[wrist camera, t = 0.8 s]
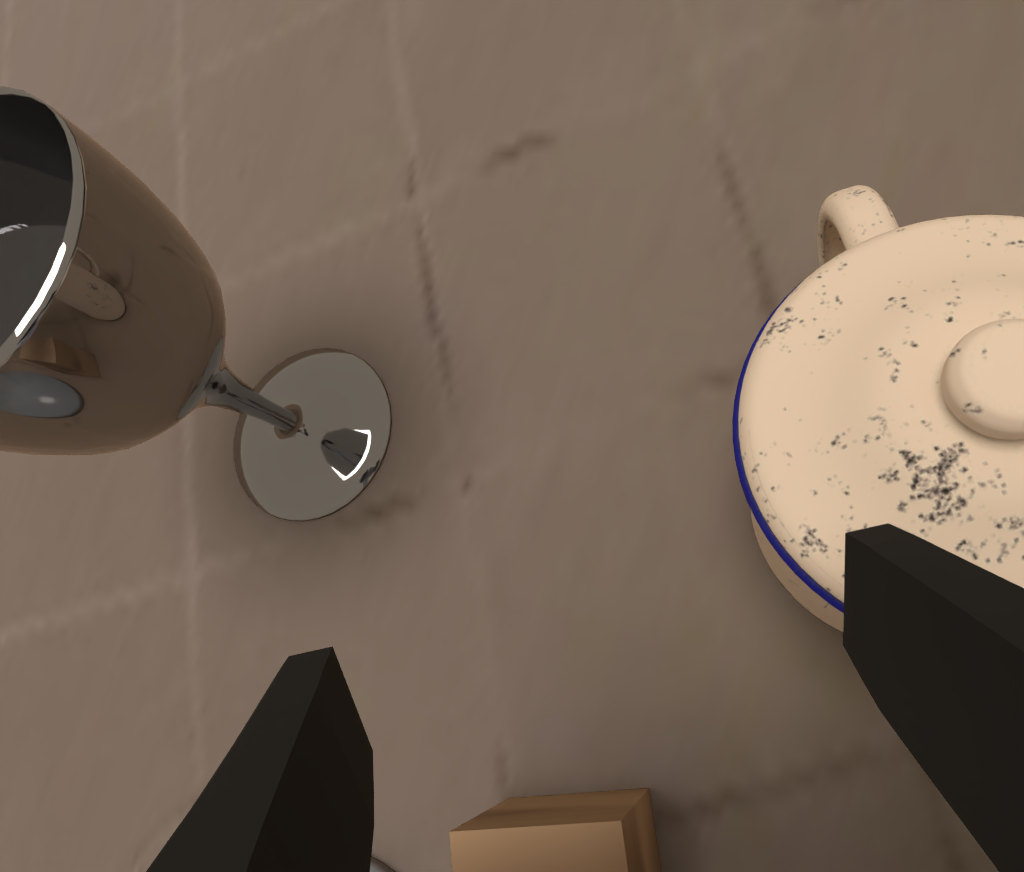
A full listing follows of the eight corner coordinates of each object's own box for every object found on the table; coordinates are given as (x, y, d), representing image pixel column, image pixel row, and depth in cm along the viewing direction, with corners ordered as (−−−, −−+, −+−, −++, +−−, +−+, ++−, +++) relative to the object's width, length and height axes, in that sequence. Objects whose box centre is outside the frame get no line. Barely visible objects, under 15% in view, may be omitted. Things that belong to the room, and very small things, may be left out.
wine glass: (428, 358, 29) (131, 95, 15) (359, 557, 28) (-35, 461, 14) (267, 324, 32) (-104, 76, 18) (197, 501, 31) (-260, 377, 17)
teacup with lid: (1136, 625, 20) (1557, 591, 10) (789, 686, 22) (814, 714, 12) (970, 246, 24) (1135, -79, 13) (688, 329, 26) (638, 105, 16)
